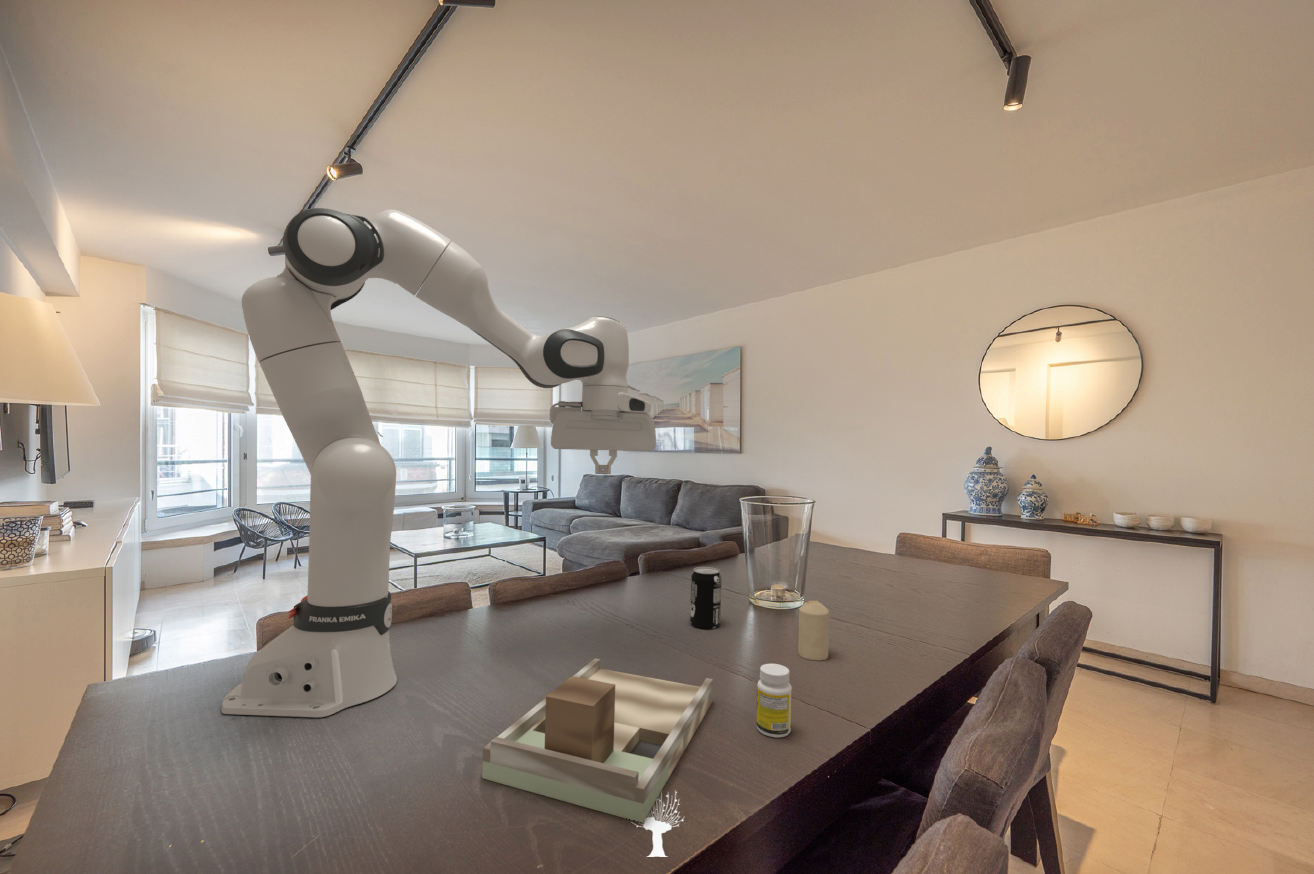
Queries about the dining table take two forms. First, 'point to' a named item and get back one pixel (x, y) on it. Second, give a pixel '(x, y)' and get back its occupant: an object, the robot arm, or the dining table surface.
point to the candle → (813, 631)
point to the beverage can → (705, 597)
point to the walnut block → (581, 719)
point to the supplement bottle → (774, 701)
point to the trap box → (615, 735)
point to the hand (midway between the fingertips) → (602, 474)
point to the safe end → (580, 794)
